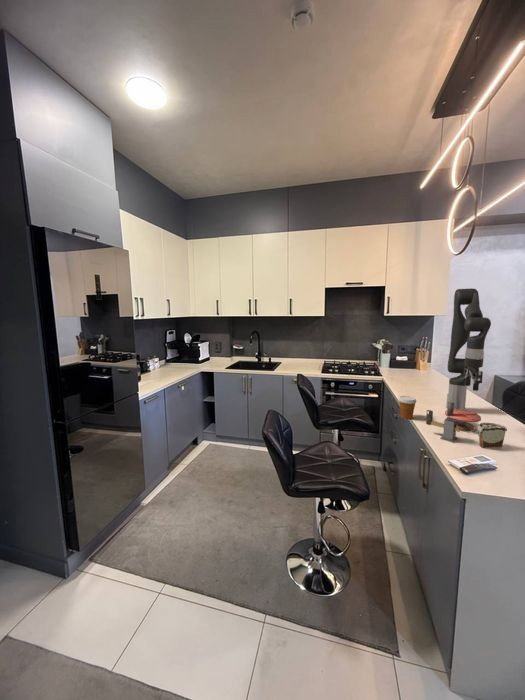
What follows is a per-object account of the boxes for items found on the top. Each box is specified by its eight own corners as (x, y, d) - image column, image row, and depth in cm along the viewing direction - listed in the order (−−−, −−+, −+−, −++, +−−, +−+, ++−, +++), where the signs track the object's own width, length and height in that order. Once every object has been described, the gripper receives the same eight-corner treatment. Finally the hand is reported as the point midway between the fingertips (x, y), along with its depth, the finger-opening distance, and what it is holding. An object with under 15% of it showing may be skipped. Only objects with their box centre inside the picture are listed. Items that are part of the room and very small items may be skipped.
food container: (494, 441, 140) (496, 421, 138) (505, 447, 134) (507, 426, 132) (469, 442, 139) (471, 422, 138) (479, 448, 133) (481, 427, 132)
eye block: (440, 438, 143) (441, 419, 142) (444, 434, 147) (445, 416, 146) (454, 442, 139) (455, 423, 137) (458, 438, 143) (459, 419, 142)
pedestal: (464, 422, 162) (464, 420, 162) (479, 430, 151) (479, 428, 151) (445, 423, 162) (445, 420, 162) (459, 431, 151) (459, 428, 151)
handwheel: (465, 417, 164) (467, 397, 163) (488, 429, 149) (490, 406, 147) (437, 418, 164) (438, 398, 162) (457, 430, 148) (459, 407, 146)
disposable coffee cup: (394, 415, 174) (394, 396, 173) (406, 413, 178) (407, 394, 176) (406, 421, 166) (407, 401, 164) (419, 418, 169) (420, 399, 167)
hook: (425, 423, 149) (425, 411, 148) (426, 422, 151) (427, 409, 150) (458, 432, 138) (459, 418, 137) (460, 430, 140) (461, 417, 139)
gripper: (459, 354, 153) (457, 384, 155) (472, 359, 139) (469, 391, 142) (475, 354, 151) (473, 384, 154) (490, 359, 137) (487, 392, 140)
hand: (471, 388), depth 148 cm, fingers open, 8 cm apart
